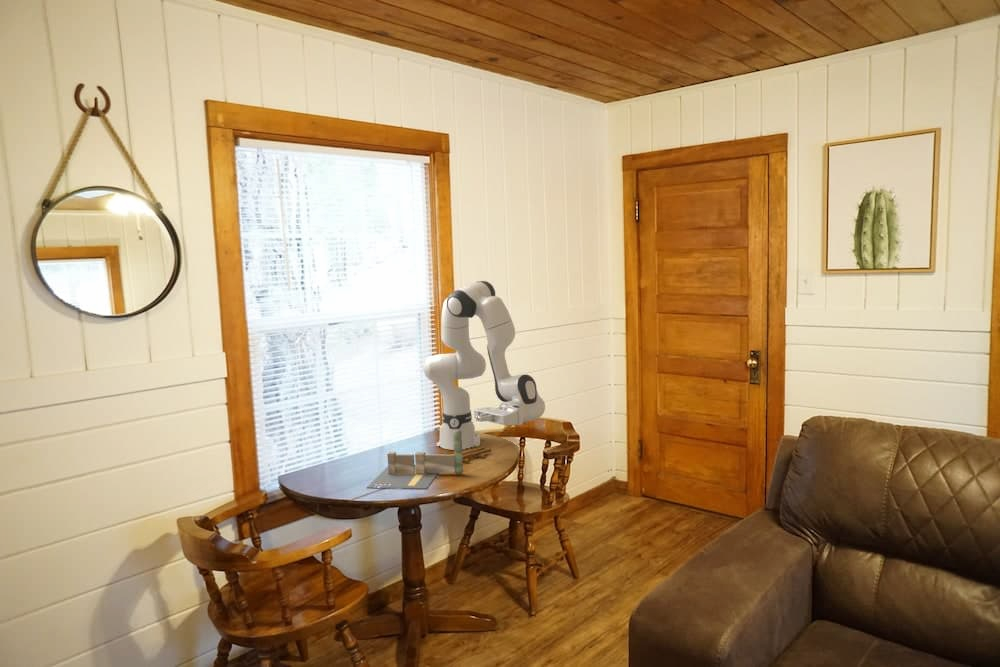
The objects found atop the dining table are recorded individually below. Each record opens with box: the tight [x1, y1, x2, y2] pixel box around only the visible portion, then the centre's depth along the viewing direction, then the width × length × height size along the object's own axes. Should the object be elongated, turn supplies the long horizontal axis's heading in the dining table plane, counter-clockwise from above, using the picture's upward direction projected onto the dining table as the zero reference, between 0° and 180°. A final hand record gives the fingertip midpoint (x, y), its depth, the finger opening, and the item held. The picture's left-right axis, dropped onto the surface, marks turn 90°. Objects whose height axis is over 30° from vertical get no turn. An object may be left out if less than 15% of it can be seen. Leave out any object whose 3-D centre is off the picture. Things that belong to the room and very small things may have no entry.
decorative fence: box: [462, 446, 492, 464], centre depth 258 cm, size 25×2×10 cm
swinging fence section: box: [414, 430, 464, 475], centre depth 240 cm, size 3×17×15 cm, turn 82°
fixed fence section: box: [386, 451, 416, 474], centre depth 242 cm, size 2×9×8 cm, turn 82°
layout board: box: [366, 464, 439, 490], centre depth 239 cm, size 26×21×1 cm
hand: (478, 419), depth 243 cm, fingers closed
